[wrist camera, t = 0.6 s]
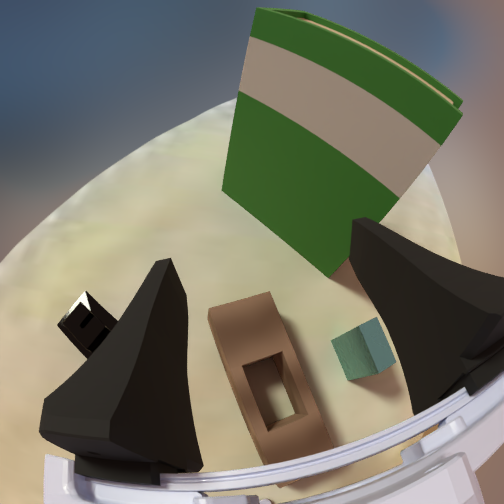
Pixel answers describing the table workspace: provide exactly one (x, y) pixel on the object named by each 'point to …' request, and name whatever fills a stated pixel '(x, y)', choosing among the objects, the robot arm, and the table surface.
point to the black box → (87, 324)
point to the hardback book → (328, 131)
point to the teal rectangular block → (364, 350)
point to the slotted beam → (280, 348)
